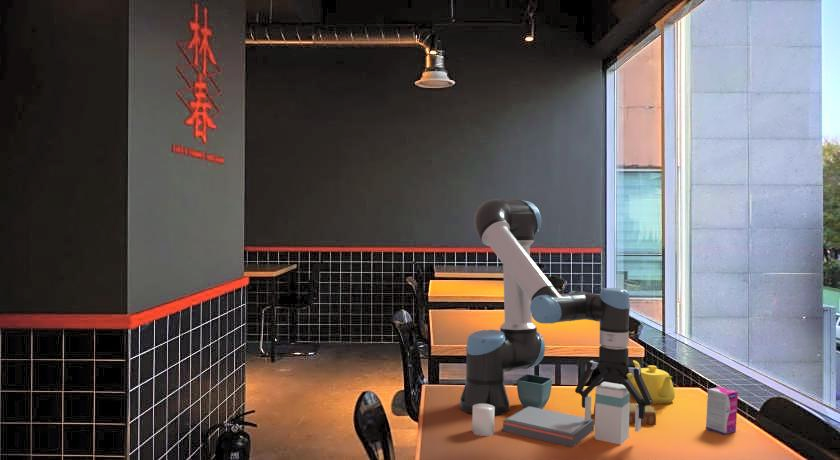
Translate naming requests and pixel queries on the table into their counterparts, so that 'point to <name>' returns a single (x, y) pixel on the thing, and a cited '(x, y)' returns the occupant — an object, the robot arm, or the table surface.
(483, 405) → the white rounded capsule
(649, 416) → the carton
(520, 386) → the flower pot
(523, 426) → the podium
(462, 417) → the table surface
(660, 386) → the teapot
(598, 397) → the carton
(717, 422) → the supplement box
